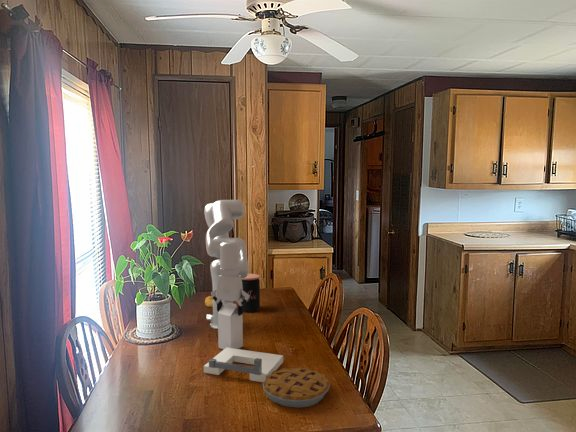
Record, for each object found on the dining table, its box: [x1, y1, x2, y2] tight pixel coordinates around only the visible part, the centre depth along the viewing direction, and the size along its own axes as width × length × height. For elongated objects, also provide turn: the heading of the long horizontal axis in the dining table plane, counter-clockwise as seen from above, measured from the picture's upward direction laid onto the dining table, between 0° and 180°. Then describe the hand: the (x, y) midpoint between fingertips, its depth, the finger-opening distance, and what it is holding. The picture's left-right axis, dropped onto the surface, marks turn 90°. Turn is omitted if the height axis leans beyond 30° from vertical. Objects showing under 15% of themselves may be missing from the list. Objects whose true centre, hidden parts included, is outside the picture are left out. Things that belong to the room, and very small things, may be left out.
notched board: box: [203, 347, 284, 383], centre depth 167 cm, size 24×18×2 cm
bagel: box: [204, 295, 213, 309], centre depth 243 cm, size 10×11×5 cm
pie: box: [262, 366, 331, 408], centre depth 148 cm, size 22×22×5 cm
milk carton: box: [217, 301, 244, 351], centre depth 184 cm, size 7×7×19 cm
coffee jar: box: [241, 273, 261, 313], centre depth 235 cm, size 11×11×18 cm
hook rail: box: [208, 357, 262, 375], centre depth 159 cm, size 20×2×5 cm, turn 71°
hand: (230, 313), depth 184 cm, fingers closed on milk carton, 8 cm apart
